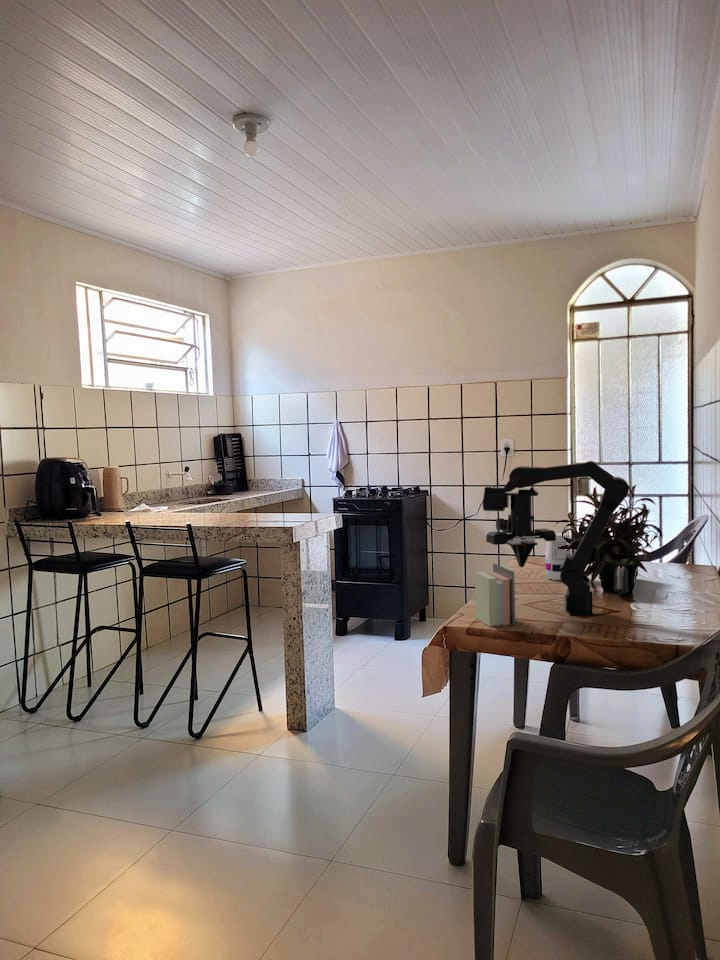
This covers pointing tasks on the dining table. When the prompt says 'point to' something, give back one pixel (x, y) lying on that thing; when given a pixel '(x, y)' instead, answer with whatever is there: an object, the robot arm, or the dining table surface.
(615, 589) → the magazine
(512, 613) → the bookend
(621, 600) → the dining table surface
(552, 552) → the supplement can
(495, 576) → the book row
